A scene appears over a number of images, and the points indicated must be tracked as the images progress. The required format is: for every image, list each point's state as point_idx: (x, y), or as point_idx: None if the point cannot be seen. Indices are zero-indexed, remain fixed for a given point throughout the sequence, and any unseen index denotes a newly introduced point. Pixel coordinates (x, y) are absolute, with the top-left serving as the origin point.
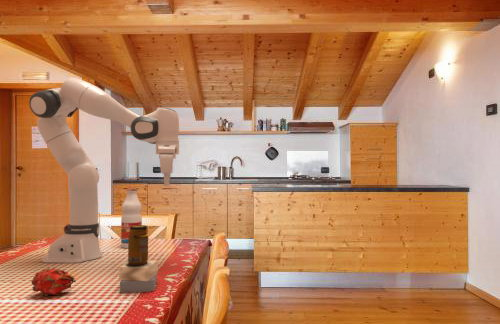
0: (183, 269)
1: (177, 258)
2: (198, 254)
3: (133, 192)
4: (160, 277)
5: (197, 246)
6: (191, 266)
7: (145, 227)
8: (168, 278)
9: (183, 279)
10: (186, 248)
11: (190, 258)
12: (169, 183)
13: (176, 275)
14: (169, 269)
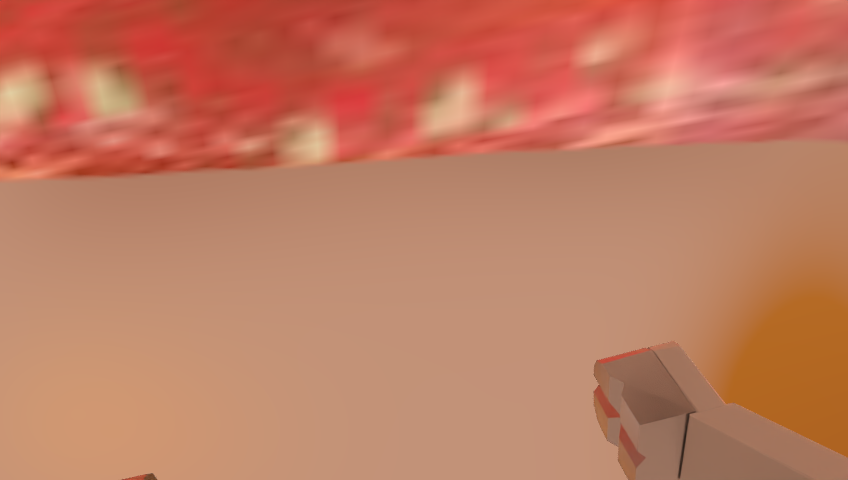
0: (239, 131)
1: (510, 38)
2: (597, 146)
3: None
4: (30, 34)
5: (817, 101)
6: (311, 161)
7: None
8: (23, 88)
9: (29, 174)
10: (783, 40)
11: (502, 119)
12: (606, 433)
13: (100, 120)
14: (228, 48)
